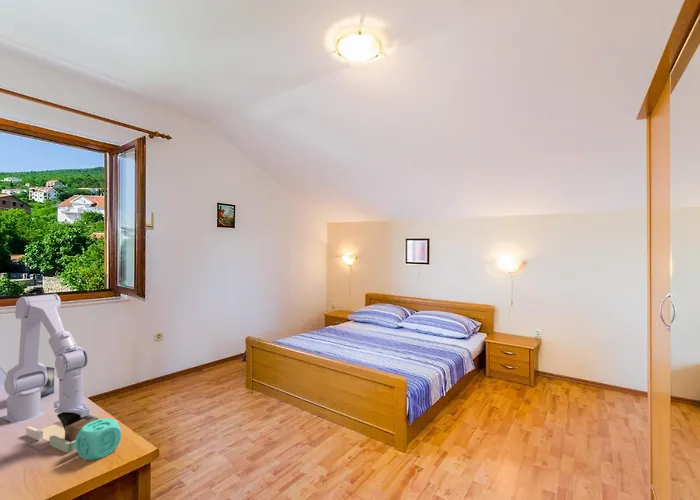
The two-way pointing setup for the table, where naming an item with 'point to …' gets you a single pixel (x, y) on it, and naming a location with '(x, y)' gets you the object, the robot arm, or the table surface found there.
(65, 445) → the tray
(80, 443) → the decorative dice
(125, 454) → the table surface
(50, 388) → the small box
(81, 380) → the robot arm
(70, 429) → the walnut cube
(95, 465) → the table surface
